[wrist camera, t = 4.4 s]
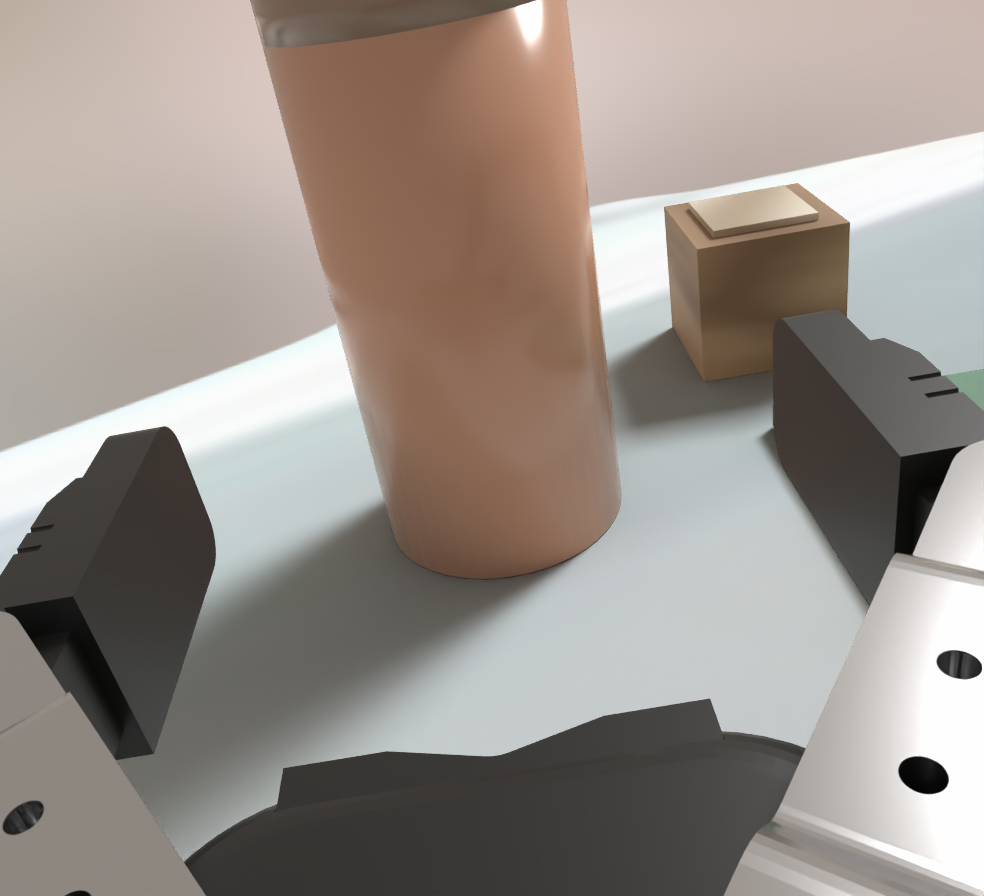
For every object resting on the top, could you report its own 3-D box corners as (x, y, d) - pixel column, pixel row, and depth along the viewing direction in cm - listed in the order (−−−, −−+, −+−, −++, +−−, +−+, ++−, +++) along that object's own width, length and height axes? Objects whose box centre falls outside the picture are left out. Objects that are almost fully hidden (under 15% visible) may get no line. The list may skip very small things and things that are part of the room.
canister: (601, 429, 25) (541, -79, 19) (642, 555, 20) (578, -75, 14) (396, 464, 25) (270, -28, 19) (387, 597, 20) (216, -6, 14)
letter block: (796, 307, 30) (797, 176, 28) (845, 360, 26) (850, 215, 24) (672, 329, 30) (663, 200, 28) (703, 384, 26) (696, 241, 24)
